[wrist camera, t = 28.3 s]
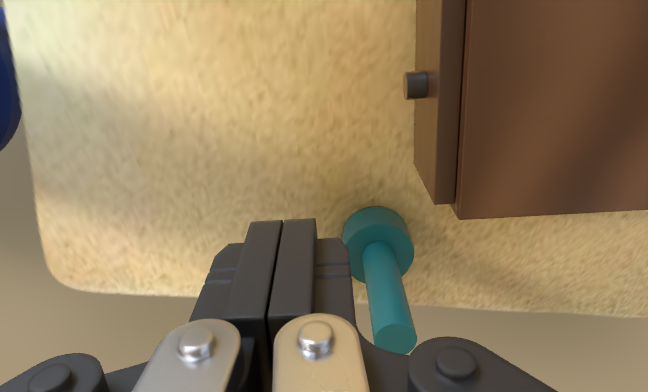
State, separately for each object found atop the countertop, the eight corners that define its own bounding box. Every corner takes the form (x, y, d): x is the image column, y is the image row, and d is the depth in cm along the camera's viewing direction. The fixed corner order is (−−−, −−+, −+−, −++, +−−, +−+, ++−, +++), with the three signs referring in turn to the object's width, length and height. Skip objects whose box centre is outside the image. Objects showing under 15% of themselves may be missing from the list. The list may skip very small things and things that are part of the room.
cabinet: (427, 166, 35) (458, 220, 27) (433, -43, 29) (475, -53, 21) (644, 153, 34) (742, 205, 26) (693, -61, 29) (836, -78, 21)
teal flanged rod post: (343, 265, 38) (350, 377, 27) (340, 208, 36) (346, 305, 25) (407, 262, 38) (440, 373, 27) (407, 204, 36) (444, 300, 25)
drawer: (396, 164, 34) (413, 206, 27) (397, -30, 29) (417, -34, 22) (620, 151, 33) (689, 190, 27) (661, -48, 28) (758, -58, 22)
